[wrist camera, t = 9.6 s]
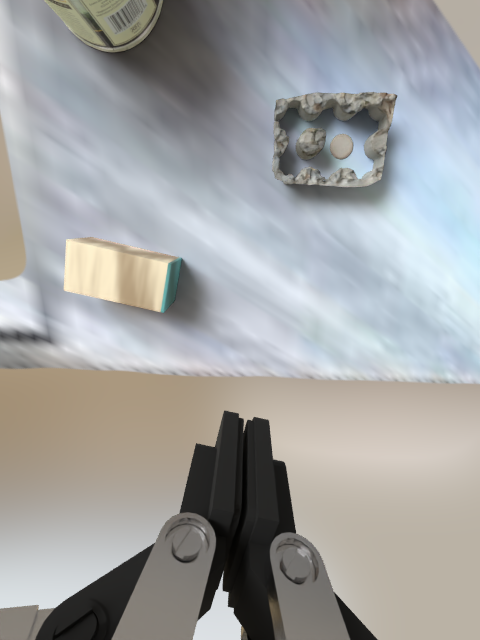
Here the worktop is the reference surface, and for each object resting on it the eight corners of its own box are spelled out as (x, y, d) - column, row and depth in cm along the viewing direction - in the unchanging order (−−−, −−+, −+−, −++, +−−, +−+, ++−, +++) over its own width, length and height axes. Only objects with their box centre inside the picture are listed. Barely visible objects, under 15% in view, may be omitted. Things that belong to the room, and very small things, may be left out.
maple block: (171, 264, 29) (66, 239, 28) (163, 312, 30) (63, 290, 30) (181, 258, 34) (92, 237, 33) (174, 300, 35) (88, 281, 35)
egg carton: (383, 108, 29) (405, 90, 25) (369, 192, 31) (386, 187, 28) (273, 101, 29) (278, 82, 25) (266, 185, 31) (270, 180, 27)
